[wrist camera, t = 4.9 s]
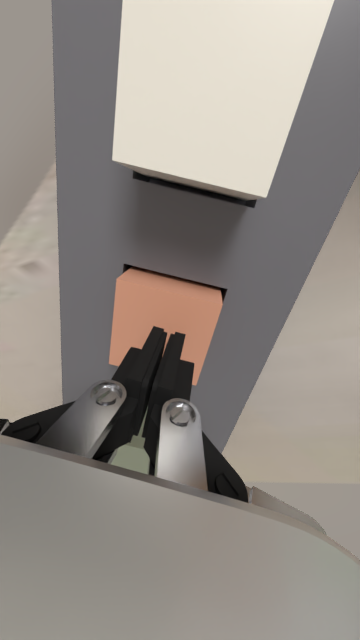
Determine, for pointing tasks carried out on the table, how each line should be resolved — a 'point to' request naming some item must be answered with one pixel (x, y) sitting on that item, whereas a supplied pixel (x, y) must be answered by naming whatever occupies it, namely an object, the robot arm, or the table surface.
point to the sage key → (133, 454)
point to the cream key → (212, 88)
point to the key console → (192, 211)
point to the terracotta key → (163, 313)
